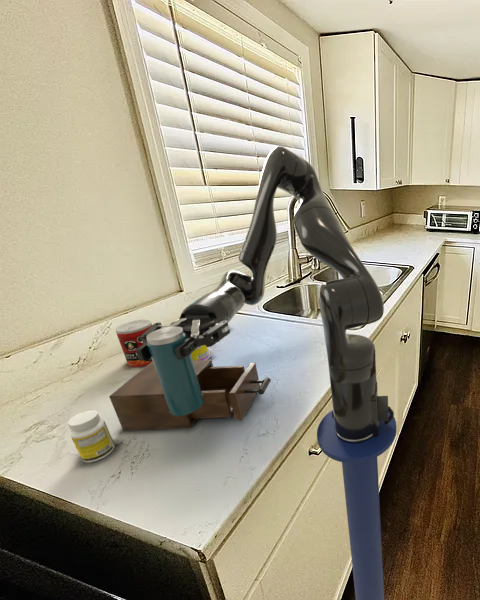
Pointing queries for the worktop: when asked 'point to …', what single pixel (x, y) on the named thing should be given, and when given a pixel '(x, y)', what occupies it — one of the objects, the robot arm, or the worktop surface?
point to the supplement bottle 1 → (91, 436)
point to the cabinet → (149, 402)
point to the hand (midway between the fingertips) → (159, 355)
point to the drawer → (228, 391)
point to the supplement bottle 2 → (200, 353)
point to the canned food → (133, 340)
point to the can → (175, 371)
